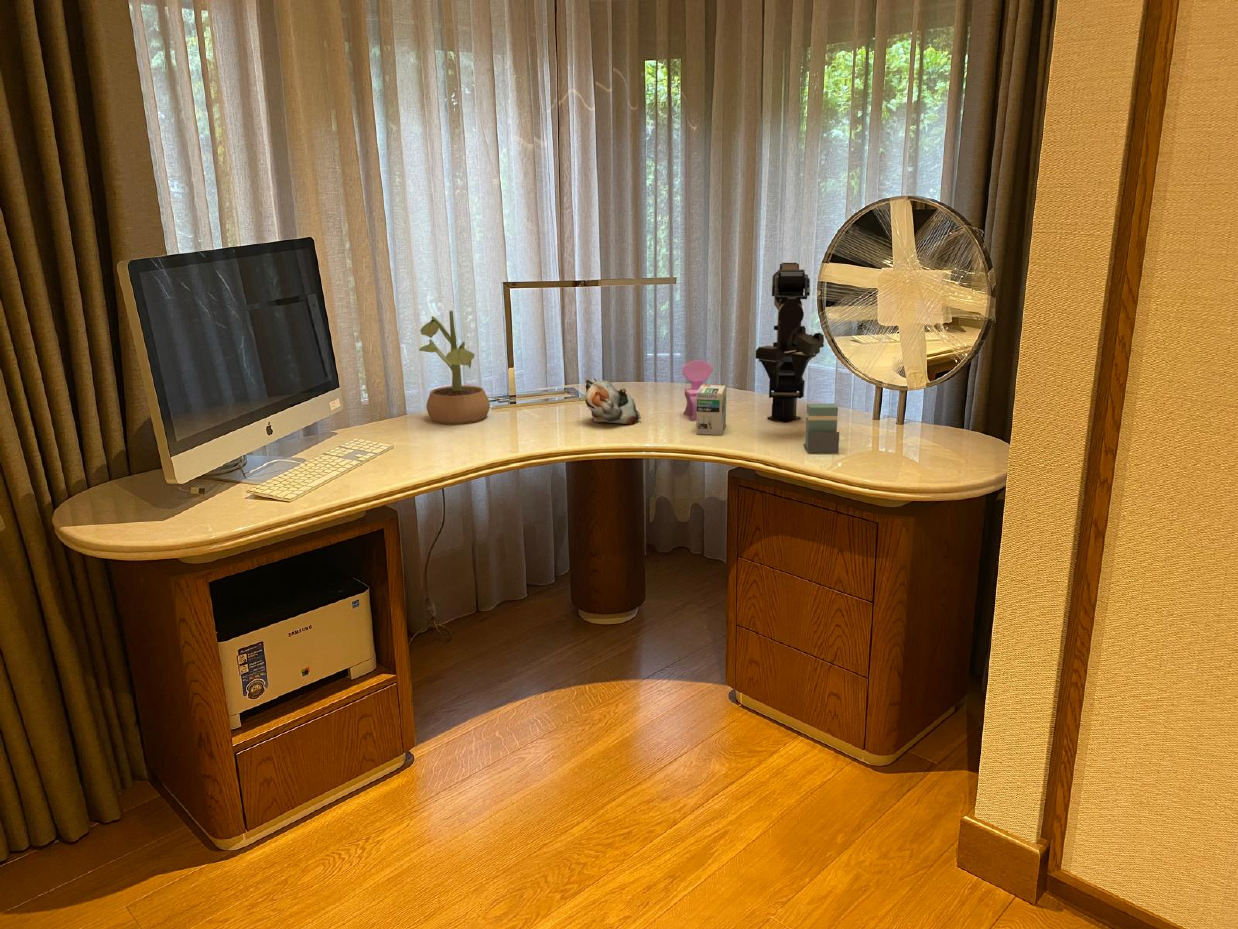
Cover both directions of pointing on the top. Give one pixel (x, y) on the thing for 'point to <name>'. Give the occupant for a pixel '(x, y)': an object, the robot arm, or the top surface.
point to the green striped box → (821, 419)
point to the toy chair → (695, 383)
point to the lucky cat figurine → (610, 403)
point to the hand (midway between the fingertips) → (786, 384)
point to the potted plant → (454, 382)
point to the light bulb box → (711, 410)
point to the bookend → (823, 442)
